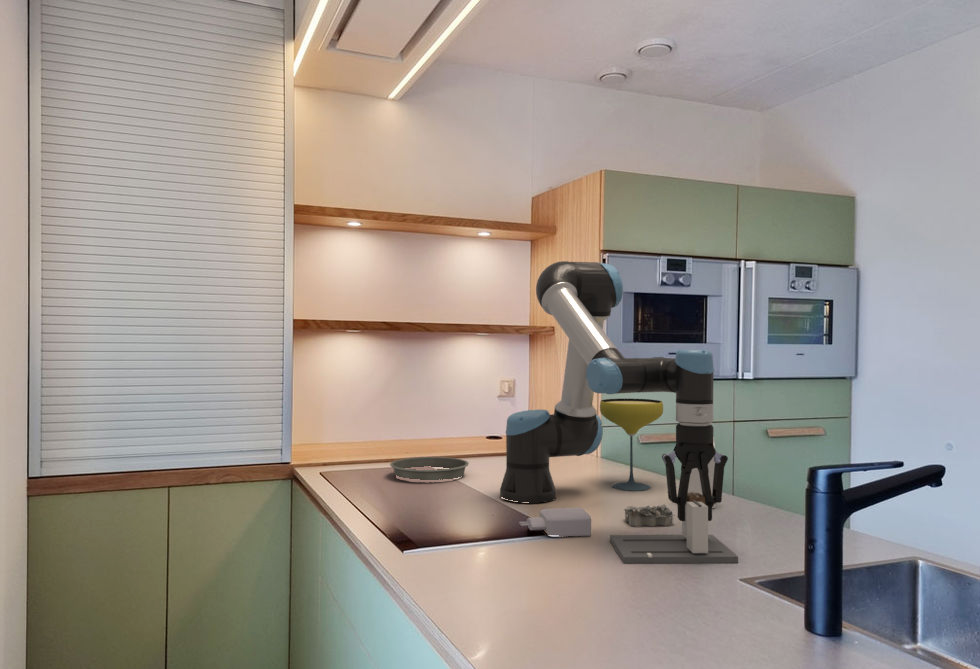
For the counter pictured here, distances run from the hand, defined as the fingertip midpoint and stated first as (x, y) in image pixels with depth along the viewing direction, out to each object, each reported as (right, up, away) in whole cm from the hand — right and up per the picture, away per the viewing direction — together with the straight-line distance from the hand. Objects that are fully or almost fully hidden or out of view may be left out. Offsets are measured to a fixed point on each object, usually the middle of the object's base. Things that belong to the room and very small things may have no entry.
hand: (694, 536), depth 145 cm
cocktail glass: (-2, -3, +57) cm, 58 cm away
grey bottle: (-29, -3, +10) cm, 31 cm away
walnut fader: (0, 0, 0) cm, 0 cm away
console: (-6, -2, -4) cm, 7 cm away
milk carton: (+12, -2, +36) cm, 38 cm away
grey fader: (-2, 0, -8) cm, 8 cm away
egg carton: (-5, -3, +19) cm, 20 cm away
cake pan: (-62, -3, +74) cm, 96 cm away
